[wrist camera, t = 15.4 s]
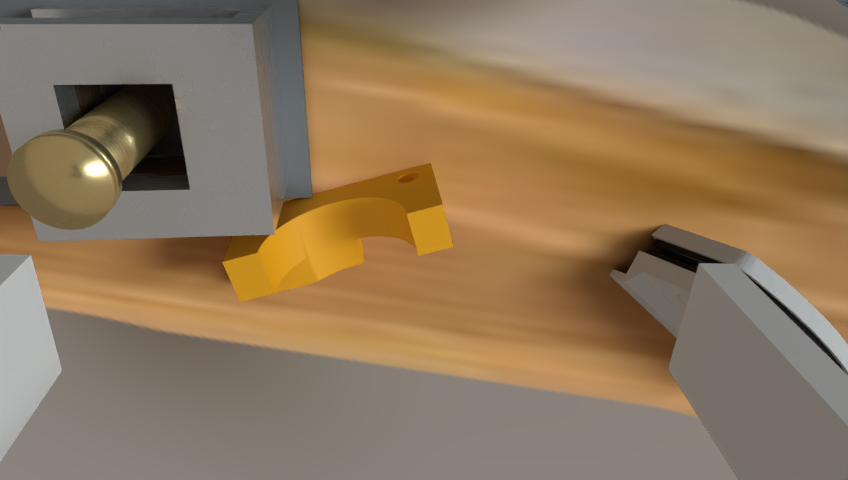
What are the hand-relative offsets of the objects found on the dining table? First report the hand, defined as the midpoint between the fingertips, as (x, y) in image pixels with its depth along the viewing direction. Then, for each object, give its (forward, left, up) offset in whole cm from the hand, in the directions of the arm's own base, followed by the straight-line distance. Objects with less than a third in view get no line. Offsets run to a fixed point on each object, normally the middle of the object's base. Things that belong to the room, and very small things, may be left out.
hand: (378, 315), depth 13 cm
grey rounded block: (+17, +25, -26) cm, 39 cm away
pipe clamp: (+10, -2, -26) cm, 27 cm away
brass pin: (+2, -12, -25) cm, 28 cm away
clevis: (+2, -15, -25) cm, 29 cm away
